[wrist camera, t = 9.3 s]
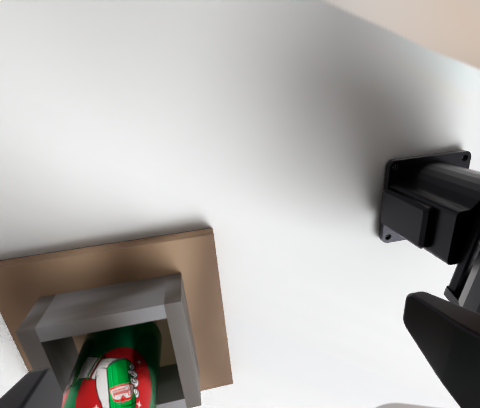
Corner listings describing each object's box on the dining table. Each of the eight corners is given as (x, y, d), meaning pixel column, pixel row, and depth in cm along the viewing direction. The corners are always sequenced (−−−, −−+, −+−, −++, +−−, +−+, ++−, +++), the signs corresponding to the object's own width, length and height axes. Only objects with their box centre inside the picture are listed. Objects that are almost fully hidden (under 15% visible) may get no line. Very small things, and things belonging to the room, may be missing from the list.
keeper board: (212, 227, 21) (218, 257, 17) (231, 373, 26) (239, 420, 22) (-10, 262, 19) (-57, 304, 15) (59, 411, 24) (36, 470, 20)
